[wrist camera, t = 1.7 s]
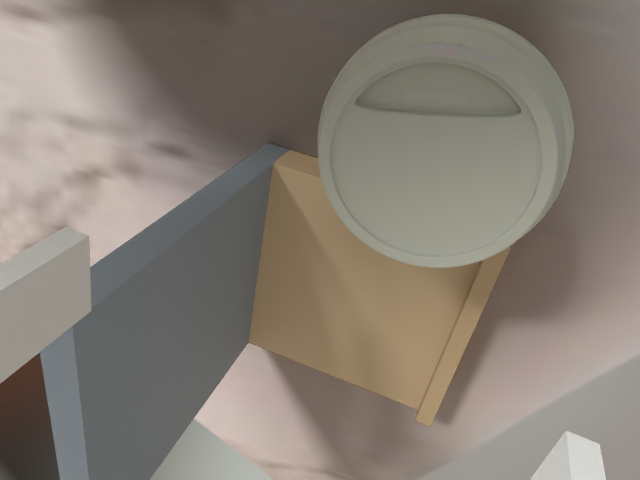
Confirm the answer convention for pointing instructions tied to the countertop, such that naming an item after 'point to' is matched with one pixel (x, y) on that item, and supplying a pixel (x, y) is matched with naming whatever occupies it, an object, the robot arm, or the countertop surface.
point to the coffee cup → (444, 140)
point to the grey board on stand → (247, 316)
